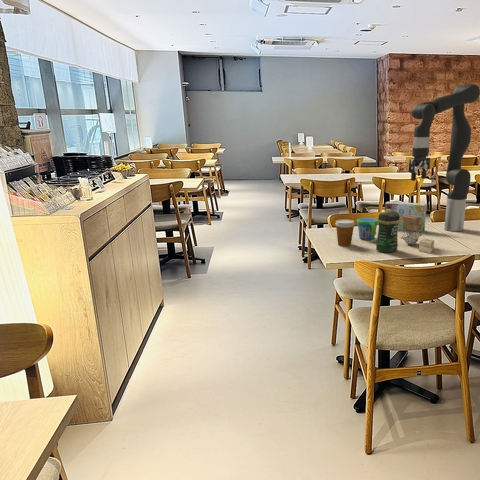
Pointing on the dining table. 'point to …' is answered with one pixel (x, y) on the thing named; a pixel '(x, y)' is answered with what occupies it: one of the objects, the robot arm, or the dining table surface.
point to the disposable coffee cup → (344, 231)
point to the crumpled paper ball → (410, 236)
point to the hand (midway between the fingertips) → (418, 179)
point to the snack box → (407, 212)
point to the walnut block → (412, 222)
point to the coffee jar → (387, 232)
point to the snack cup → (367, 228)
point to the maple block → (426, 245)
